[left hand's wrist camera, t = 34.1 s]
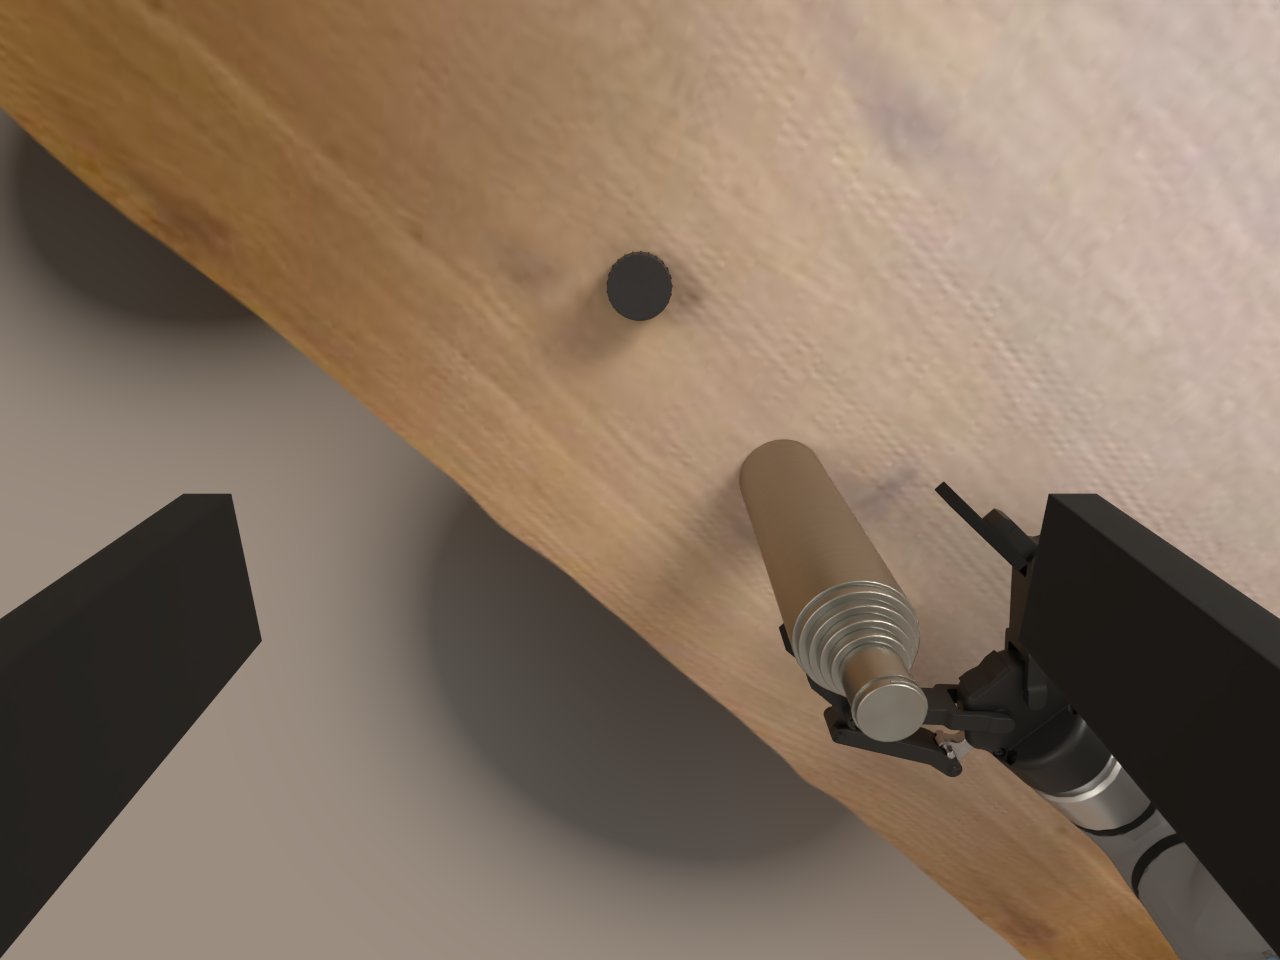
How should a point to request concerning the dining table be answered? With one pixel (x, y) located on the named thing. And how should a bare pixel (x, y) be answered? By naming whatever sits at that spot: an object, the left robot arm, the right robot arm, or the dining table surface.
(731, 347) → the dining table surface
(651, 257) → the cap
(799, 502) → the bottle
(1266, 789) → the left robot arm
